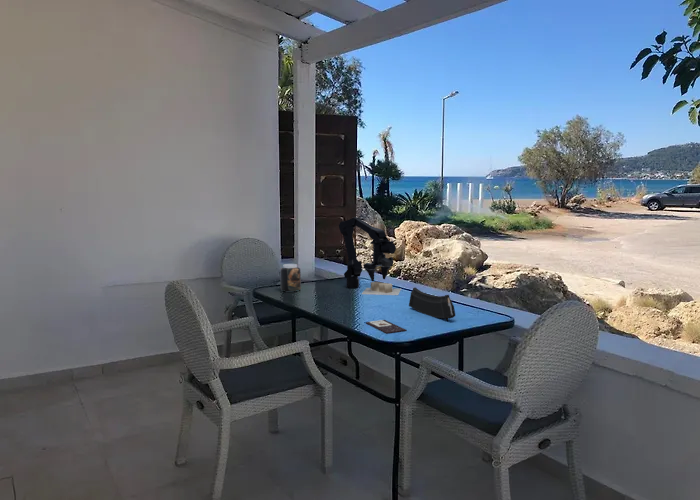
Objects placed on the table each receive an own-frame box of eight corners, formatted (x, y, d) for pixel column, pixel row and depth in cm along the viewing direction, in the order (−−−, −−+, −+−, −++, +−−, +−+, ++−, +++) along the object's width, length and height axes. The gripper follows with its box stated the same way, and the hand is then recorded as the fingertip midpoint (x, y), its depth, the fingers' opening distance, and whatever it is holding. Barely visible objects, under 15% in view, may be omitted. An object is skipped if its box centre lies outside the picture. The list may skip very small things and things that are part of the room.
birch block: (370, 282, 276) (386, 285, 267) (376, 281, 279) (392, 283, 270) (370, 290, 276) (386, 293, 268) (376, 289, 279) (392, 292, 271)
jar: (277, 292, 277) (276, 265, 275) (285, 288, 288) (285, 263, 287) (296, 293, 274) (295, 266, 272) (304, 289, 285) (303, 263, 283)
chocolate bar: (386, 332, 190) (365, 322, 206) (386, 335, 190) (365, 324, 207) (406, 329, 194) (384, 319, 210) (406, 332, 194) (384, 321, 210)
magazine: (405, 289, 234) (443, 279, 208) (411, 288, 236) (449, 279, 209) (411, 325, 231) (450, 320, 205) (417, 324, 233) (456, 319, 207)
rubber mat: (361, 295, 266) (361, 294, 266) (366, 288, 285) (366, 287, 284) (398, 296, 262) (398, 295, 262) (401, 289, 281) (401, 288, 281)
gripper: (377, 255, 261) (377, 284, 262) (400, 252, 273) (400, 279, 275) (362, 253, 269) (362, 281, 270) (385, 250, 281) (385, 277, 283)
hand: (378, 280), depth 275 cm, fingers open, 9 cm apart
